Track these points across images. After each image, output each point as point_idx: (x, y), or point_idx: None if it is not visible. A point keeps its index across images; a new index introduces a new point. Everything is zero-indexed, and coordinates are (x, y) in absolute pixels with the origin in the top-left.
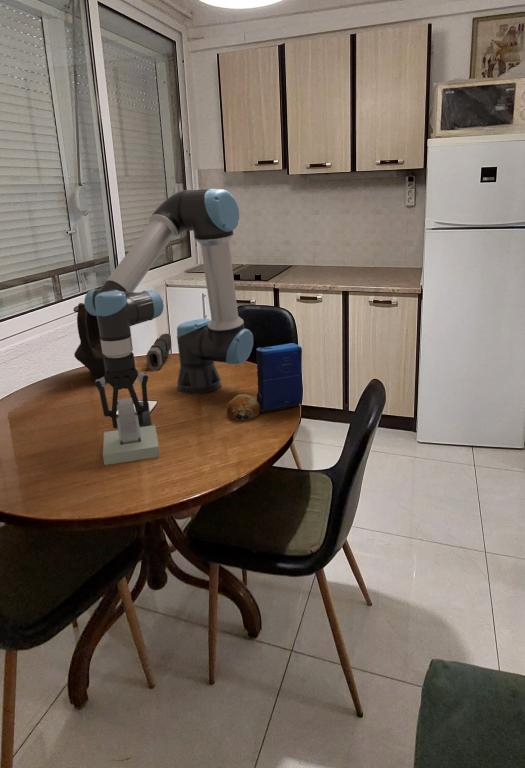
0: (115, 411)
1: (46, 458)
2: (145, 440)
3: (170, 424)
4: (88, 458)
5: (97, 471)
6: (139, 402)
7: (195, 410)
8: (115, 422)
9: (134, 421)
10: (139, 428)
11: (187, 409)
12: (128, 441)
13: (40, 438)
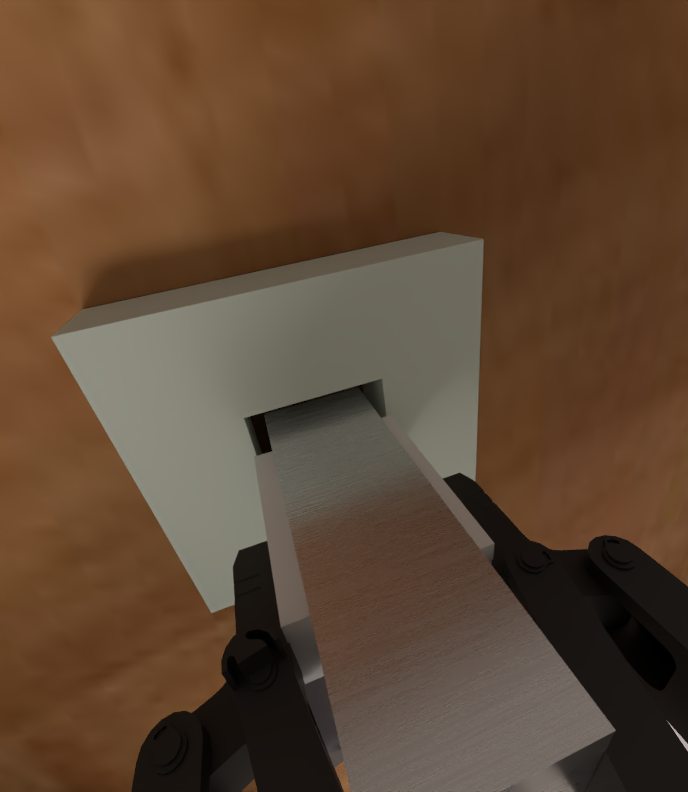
0: (547, 617)
1: (666, 340)
2: (215, 437)
3: (167, 648)
4: (516, 326)
5: (476, 145)
6: (332, 761)
7: (83, 761)
8: (475, 515)
9: (305, 545)
10: (263, 510)
11: (130, 755)
12: (333, 413)
13: (649, 488)
